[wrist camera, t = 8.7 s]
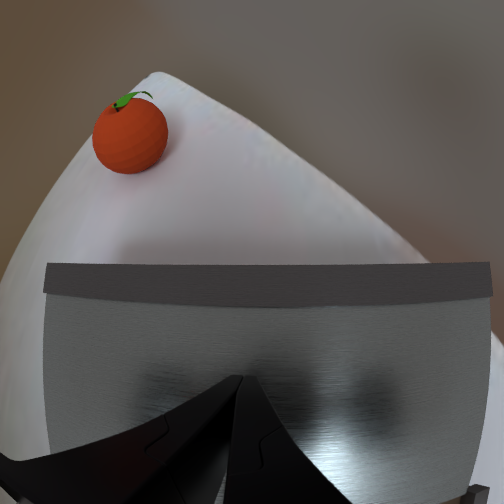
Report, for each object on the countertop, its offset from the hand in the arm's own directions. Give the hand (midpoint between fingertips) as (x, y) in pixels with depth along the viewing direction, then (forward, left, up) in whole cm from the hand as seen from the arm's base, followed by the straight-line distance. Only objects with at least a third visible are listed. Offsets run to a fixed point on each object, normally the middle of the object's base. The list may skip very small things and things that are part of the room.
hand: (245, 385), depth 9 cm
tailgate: (-7, -2, -5) cm, 8 cm away
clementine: (+14, +18, -7) cm, 24 cm away
